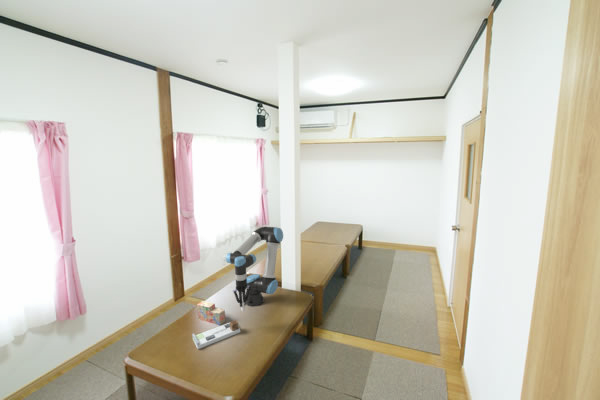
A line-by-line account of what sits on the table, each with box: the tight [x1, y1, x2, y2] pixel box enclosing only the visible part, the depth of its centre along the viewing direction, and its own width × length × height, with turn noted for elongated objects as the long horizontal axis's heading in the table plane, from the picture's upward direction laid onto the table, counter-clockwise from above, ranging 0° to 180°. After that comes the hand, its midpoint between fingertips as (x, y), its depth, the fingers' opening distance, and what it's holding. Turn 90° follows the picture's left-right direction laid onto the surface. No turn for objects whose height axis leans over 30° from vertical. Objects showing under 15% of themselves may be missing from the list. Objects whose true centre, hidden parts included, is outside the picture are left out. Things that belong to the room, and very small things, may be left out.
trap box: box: [192, 322, 241, 350], centre depth 190 cm, size 29×12×4 cm, turn 125°
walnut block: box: [229, 319, 240, 331], centre depth 194 cm, size 4×4×4 cm
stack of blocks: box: [196, 300, 226, 326], centre depth 209 cm, size 21×6×12 cm, turn 65°
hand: (243, 310), depth 197 cm, fingers closed
